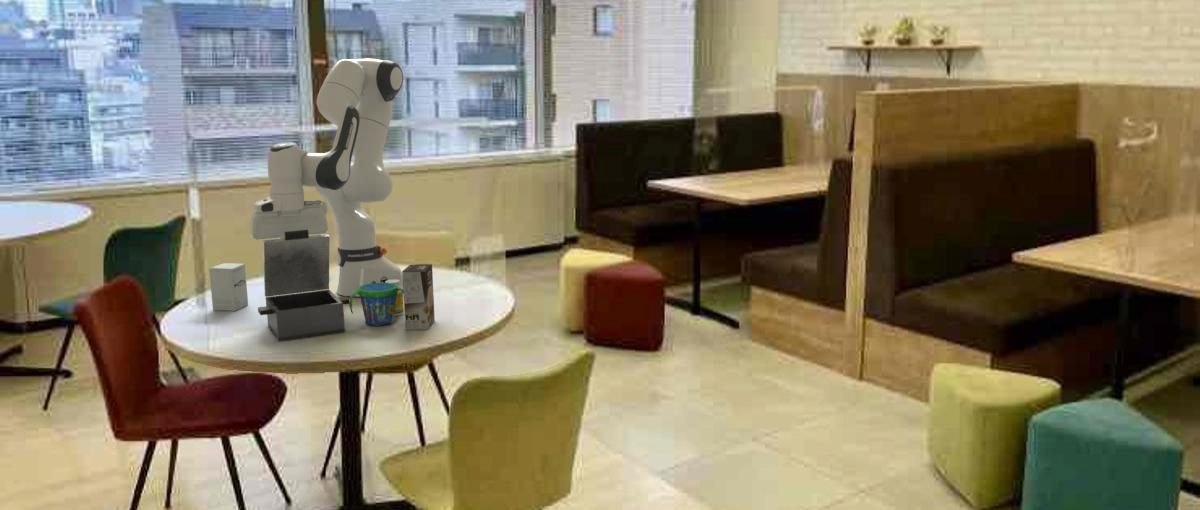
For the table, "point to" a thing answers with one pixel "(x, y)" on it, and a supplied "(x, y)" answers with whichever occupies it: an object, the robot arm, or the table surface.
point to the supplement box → (228, 286)
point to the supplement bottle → (398, 298)
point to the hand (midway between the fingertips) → (291, 252)
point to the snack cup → (377, 302)
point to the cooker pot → (305, 314)
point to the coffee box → (418, 296)
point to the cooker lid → (296, 263)
